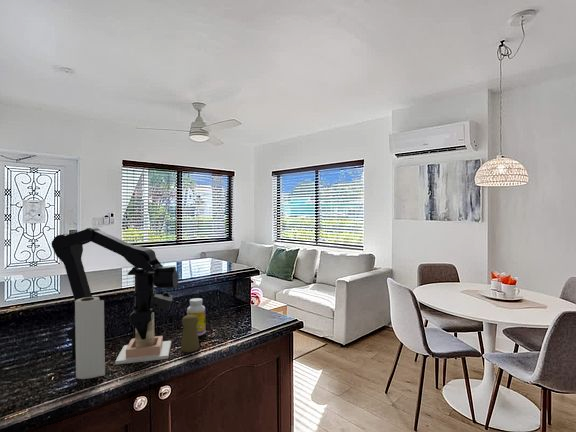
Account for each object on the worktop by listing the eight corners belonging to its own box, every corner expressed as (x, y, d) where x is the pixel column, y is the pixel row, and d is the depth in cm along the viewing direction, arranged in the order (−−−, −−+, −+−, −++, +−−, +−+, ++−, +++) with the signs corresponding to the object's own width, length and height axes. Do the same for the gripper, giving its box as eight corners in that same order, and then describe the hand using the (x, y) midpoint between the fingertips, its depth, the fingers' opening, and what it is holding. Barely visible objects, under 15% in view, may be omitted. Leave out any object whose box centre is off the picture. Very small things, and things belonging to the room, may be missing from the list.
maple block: (135, 349, 107) (135, 317, 107) (138, 343, 112) (137, 313, 112) (152, 347, 109) (152, 316, 109) (154, 342, 113) (154, 312, 113)
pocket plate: (115, 364, 102) (115, 352, 102) (124, 348, 115) (124, 337, 115) (168, 358, 106) (168, 347, 106) (171, 343, 119) (171, 333, 119)
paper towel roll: (73, 374, 96) (72, 298, 96) (97, 367, 100) (96, 295, 100) (80, 383, 91) (79, 303, 91) (105, 375, 95) (103, 299, 95)
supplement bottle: (206, 335, 126) (206, 300, 126) (188, 338, 124) (187, 302, 124) (204, 329, 132) (203, 296, 132) (186, 332, 130) (186, 298, 130)
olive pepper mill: (194, 352, 110) (194, 318, 110) (177, 351, 112) (176, 317, 112) (202, 345, 116) (202, 313, 116) (186, 344, 118) (186, 312, 117)
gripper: (168, 292, 103) (169, 344, 103) (172, 281, 121) (173, 325, 121) (128, 295, 100) (129, 348, 101) (138, 283, 118) (139, 328, 119)
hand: (145, 336), depth 110 cm, fingers closed on maple block, 5 cm apart
